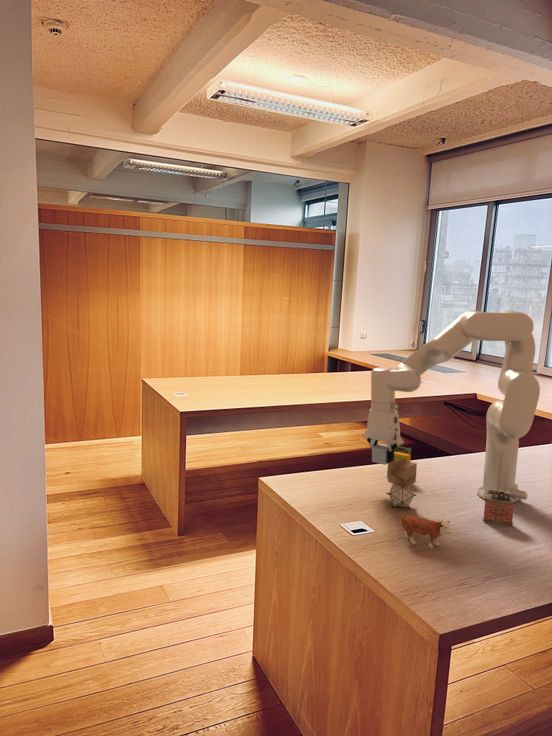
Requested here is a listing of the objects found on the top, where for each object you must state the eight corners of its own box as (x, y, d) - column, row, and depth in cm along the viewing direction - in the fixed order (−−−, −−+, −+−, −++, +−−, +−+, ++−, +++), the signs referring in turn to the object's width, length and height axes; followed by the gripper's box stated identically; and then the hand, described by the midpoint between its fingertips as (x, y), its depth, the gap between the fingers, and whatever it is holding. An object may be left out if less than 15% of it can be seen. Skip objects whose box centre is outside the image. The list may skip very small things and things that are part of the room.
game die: (403, 516, 171) (420, 489, 173) (407, 517, 163) (425, 489, 164) (378, 499, 173) (395, 472, 174) (381, 500, 165) (399, 472, 166)
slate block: (393, 461, 180) (393, 446, 179) (385, 464, 177) (385, 449, 176) (380, 457, 184) (380, 443, 183) (371, 461, 180) (371, 446, 179)
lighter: (512, 522, 159) (515, 490, 157) (513, 527, 156) (516, 494, 154) (482, 518, 162) (485, 486, 160) (482, 523, 158) (485, 490, 157)
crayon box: (386, 478, 193) (388, 446, 191) (389, 476, 196) (391, 444, 194) (406, 482, 189) (408, 450, 187) (409, 480, 192) (411, 448, 190)
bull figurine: (449, 555, 140) (451, 525, 138) (398, 541, 147) (400, 512, 145) (454, 548, 143) (456, 519, 142) (404, 535, 150) (405, 507, 149)
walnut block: (415, 482, 168) (416, 463, 167) (405, 487, 164) (406, 467, 163) (398, 477, 172) (399, 458, 171) (388, 481, 168) (388, 463, 167)
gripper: (412, 407, 174) (411, 462, 177) (367, 400, 186) (367, 452, 188) (399, 411, 169) (399, 468, 171) (354, 404, 180) (354, 457, 183)
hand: (382, 459), depth 180 cm, fingers closed on slate block, 4 cm apart
